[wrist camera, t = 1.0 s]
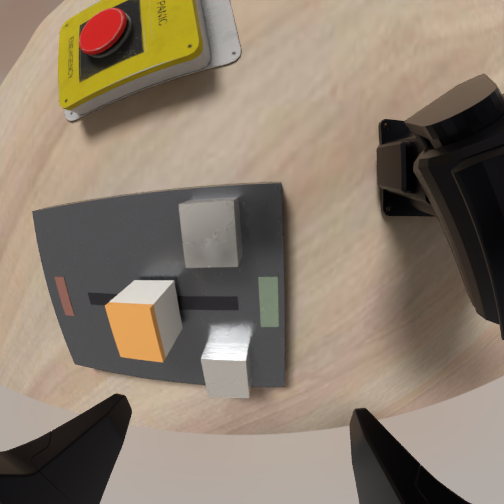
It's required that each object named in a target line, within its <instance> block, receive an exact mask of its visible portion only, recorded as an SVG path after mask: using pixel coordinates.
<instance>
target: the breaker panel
mask: <svg viewBox="0 0 504 504" xmlns="http://www.w3.org/2000/svg"><path fill="white" fill-rule="evenodd" d="M32 212H33V219H34V226H35V232H36V238H37V243H38V248H39V253H40V257H41V262H42V266H43V270H44V274H45V278H46V282H47V286H48V290H49V293H50V297H51V300H52V303H53V306H54V310H55V313H56V316H57V319H58V322H59V325H60V327H61V330H62V333H63V336H64V338H65V341H66V343H67V346H68V349H69V351H70V353H71V356H72V358H73V361H74V363H75V364H77V365H81V366H85V367H89V368H94V369H98V370H103V371H108V372H113V373H118V374H124V375H130V376H136V377H142V378H149V379H156V380H163V381H172V382H181V383H191V384H203V385H206V388H207V393H208V396H212V397H228V398H249V397H250V389H251V387H284V376H285V301H284V249H283V217H282V191H281V182H259V183H240V184H225V185H211V186H199V187H187V188H177V189H167V190H158V191H149V192H141V193H133V194H125V195H118V196H111V197H104V198H98V199H91V200H85V201H79V202H74V203H68V204H62V205H57V206H52V207H47V208H43V209H39V210H36V211H32ZM134 280H174V282H175V288H176V294H177V300H178V306H179V312H180V317H181V322H182V330H181V332H180V334H179V335H178V337H177V339H176V341H175V342H174V344H173V346H172V348H171V349H170V351H169V353H168V355H167V357H166V358H165V360H164V362H155V361H146V360H138V359H131V358H124V357H120V354H119V351H118V348H117V345H116V342H115V339H114V336H113V332H112V329H111V326H110V322H109V319H108V315H107V312H106V308H105V305H106V304H107V303H109V302H110V301H111V300H112V299H113V298H114V297H115V296H117V295H118V294H119V293H120V292H121V291H122V290H124V289H125V288H126V287H127V286H128V285H129V284H131V283H132V282H133V281H134Z"/></svg>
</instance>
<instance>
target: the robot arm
mask: <svg viewBox="0 0 504 504" xmlns="http://www.w3.org/2000/svg"><path fill="white" fill-rule="evenodd" d="M384 124H387V125H388V127H389V129H388V130H386V129H385V128H384ZM379 140H380V145H379V146H378V148H377V176H378V186H379V187H380V188H381V211H382V212H383V213H384V214H385V215H388V216H436V217H437V218H438V220H439V222H440V224H441V226H442V229H443V231H444V233H445V235H446V238H447V240H448V243H449V245H450V247H451V250H452V252H453V255H454V258H455V260H456V263H457V266H458V268H459V271H460V274H461V277H462V280H463V283H464V286H465V289H466V292H467V294H468V296H469V298H470V300H471V302H472V304H473V306H474V307H475V309H476V312H477V313H478V314H479V315H480V316H482V317H483V318H484V319H486V320H488V321H491V322H494V323H496V324H500V330H501V337H502V340H504V94H501V92H500V90H499V88H498V87H497V85H496V84H495V83H494V82H493V81H492V80H491V79H490V78H489V77H488V76H487V75H486V74H481V75H479V76H477V77H475V78H472V79H470V80H468V81H466V82H463V83H461V84H459V85H457V86H455V87H454V88H453V89H451V90H450V91H448V92H447V93H445V94H444V95H442V96H441V97H439V98H438V99H436V100H435V101H433V102H432V103H430V104H429V105H427V106H426V107H424V108H423V109H422V110H420V111H419V112H417V113H416V114H414V115H413V116H411V117H410V118H408V119H407V120H406V121H399V120H390V119H384V120H382V121H381V122H380V123H379ZM388 205H390V206H391V209H390V210H389V211H387V210H386V207H387V206H388ZM131 414H132V409H131V407H130V404H129V402H128V400H127V398H126V396H125V395H121V394H114V395H112V396H111V397H109V398H107V399H106V400H104V401H102V402H101V403H99V404H97V405H96V406H94V407H92V408H91V409H89V410H87V411H85V412H84V413H82V414H80V415H79V416H77V417H75V418H74V419H72V420H70V421H68V422H66V423H65V424H63V425H61V426H59V427H58V428H56V429H54V430H52V432H51V431H50V432H49V433H47V434H45V435H43V436H41V437H39V438H38V439H35V440H33V441H30V442H28V443H26V444H23V445H21V446H18V447H16V448H13V449H10V450H7V451H3V452H0V504H100V501H101V498H102V496H103V493H104V490H105V488H106V485H107V482H108V480H109V478H110V475H111V472H112V470H113V467H114V465H115V462H116V460H117V457H118V455H119V453H120V450H121V448H122V445H123V442H124V439H125V435H126V432H127V428H128V425H129V421H130V418H131ZM350 439H351V454H352V465H353V470H354V476H355V481H356V486H357V492H358V497H359V504H471V503H469V502H467V501H465V500H464V499H462V498H461V497H460V496H458V495H457V494H455V493H454V492H453V491H451V490H450V489H448V488H447V487H446V486H444V485H443V484H442V483H440V482H439V481H438V480H437V479H435V478H434V477H433V476H432V475H431V474H430V473H429V472H428V471H427V470H426V469H425V468H424V467H423V466H422V465H421V466H420V463H419V462H418V461H417V460H416V459H415V458H414V457H413V456H412V455H411V454H410V453H409V452H408V451H407V450H406V449H405V448H404V447H403V446H402V445H401V444H400V443H399V442H398V441H397V440H396V439H395V438H394V437H393V436H392V435H391V434H390V433H389V432H388V431H387V430H386V429H385V427H384V426H383V425H382V424H381V423H380V422H379V421H378V420H377V419H376V418H375V417H374V416H373V415H372V414H371V413H370V412H369V411H368V410H367V409H366V408H358V409H355V410H354V411H353V415H352V418H351V421H350Z"/></svg>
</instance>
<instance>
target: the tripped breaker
mask: <svg viewBox="0 0 504 504" xmlns="http://www.w3.org/2000/svg"><path fill="white" fill-rule="evenodd" d="M105 308H106V312H107V315H108V319H109V322H110V326H111V329H112V332H113V336H114V339H115V342H116V345H117V348H118V351H119V354H120V357H124V358H131V359H138V360H146V361H155V362H164V360H165V358H166V357H167V355H168V353H169V351H170V349H171V348H172V346H173V344H174V342H175V341H176V339H177V337H178V335H179V334H180V332H181V330H182V322H181V317H180V312H179V306H178V300H177V294H176V288H175V282H174V280H134V281H133V282H132V283H131V284H129V285H128V286H127V287H126V288H125V289H124V290H122V291H121V292H120V293H119V294H118V295H117V296H115V297H114V298H113V299H112V300H111V301H110V302H109V303H107V304H106V305H105Z"/></svg>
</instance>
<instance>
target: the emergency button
mask: <svg viewBox="0 0 504 504" xmlns="http://www.w3.org/2000/svg"><path fill="white" fill-rule="evenodd" d="M240 55H241V46H240V42H239V38H238V33H237V29H236V25H235V21H234V17H233V12H232V8H231V4H230V0H101V1H99V2H97V3H95V4H93V5H91V6H90V7H88V8H86V9H85V10H83V11H81V12H80V13H78V14H76V15H75V16H73V17H71V18H70V19H68V20H67V21H66V22H65V23H64V24H63V26H62V27H61V30H60V37H59V55H58V98H59V105H60V106H61V107H62V108H64V111H65V117H66V119H67V120H69V121H75V120H78V119H79V118H81V117H83V116H85V115H87V114H89V113H91V112H93V111H95V110H98V109H100V108H102V107H104V106H106V105H108V104H110V103H113V102H115V101H117V100H120V99H122V98H124V97H127V96H129V95H132V94H134V93H137V92H139V91H142V90H144V89H147V88H150V87H152V86H155V85H158V84H161V83H164V82H167V81H170V80H173V79H176V78H179V77H182V76H186V75H189V74H192V73H196V72H200V71H203V70H207V69H211V68H215V67H219V66H223V65H227V64H230V63H232V62H235V61H236V60H237V59H238V58H239V57H240Z"/></svg>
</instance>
